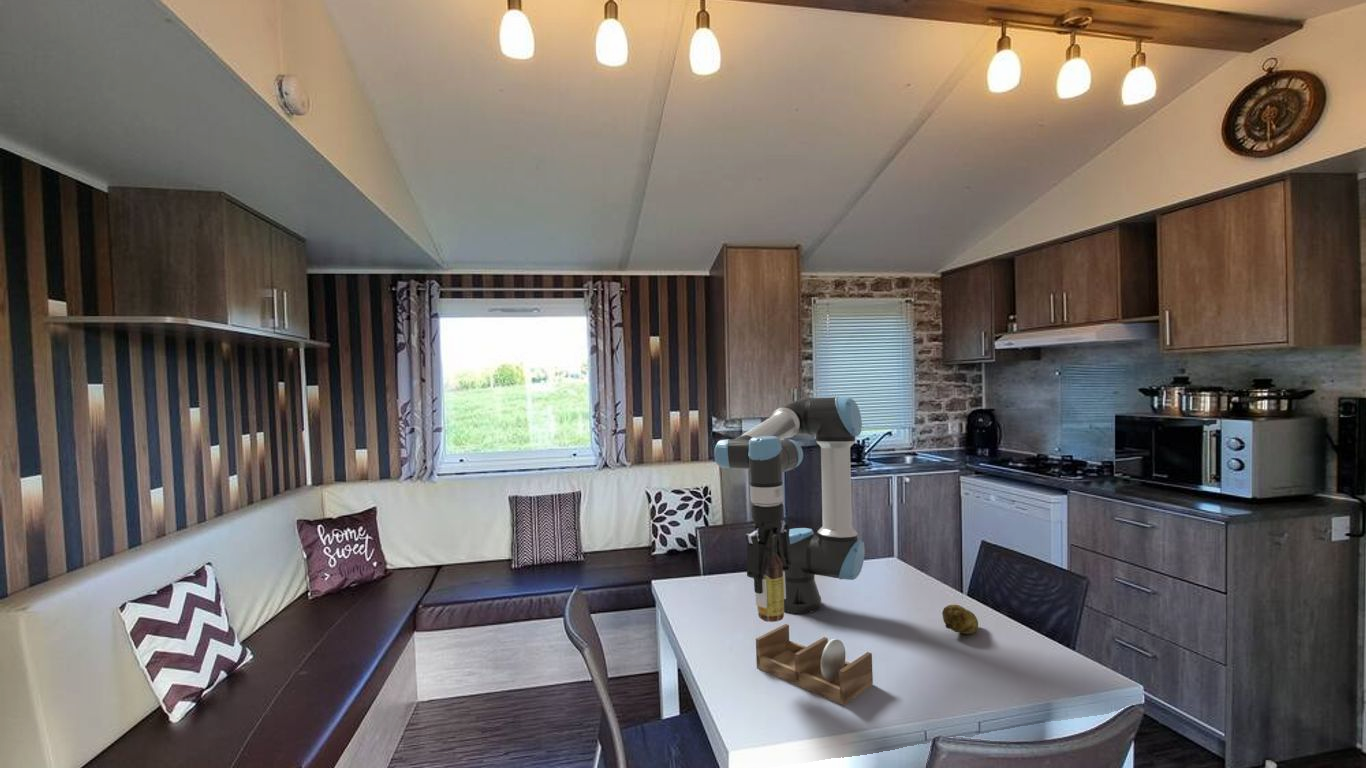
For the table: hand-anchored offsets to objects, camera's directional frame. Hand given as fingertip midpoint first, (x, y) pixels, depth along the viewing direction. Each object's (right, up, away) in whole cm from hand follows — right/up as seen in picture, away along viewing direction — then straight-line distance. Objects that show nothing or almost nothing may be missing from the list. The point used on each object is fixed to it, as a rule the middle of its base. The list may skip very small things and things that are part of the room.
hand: (771, 601), depth 131 cm
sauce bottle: (0, -4, 0) cm, 4 cm away
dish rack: (+10, -18, +1) cm, 20 cm away
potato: (+55, -17, +21) cm, 62 cm away
